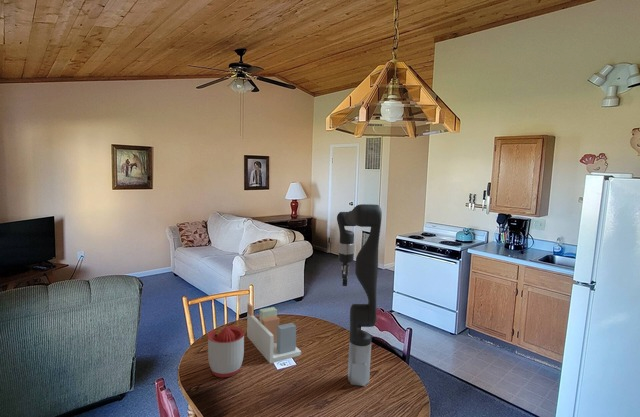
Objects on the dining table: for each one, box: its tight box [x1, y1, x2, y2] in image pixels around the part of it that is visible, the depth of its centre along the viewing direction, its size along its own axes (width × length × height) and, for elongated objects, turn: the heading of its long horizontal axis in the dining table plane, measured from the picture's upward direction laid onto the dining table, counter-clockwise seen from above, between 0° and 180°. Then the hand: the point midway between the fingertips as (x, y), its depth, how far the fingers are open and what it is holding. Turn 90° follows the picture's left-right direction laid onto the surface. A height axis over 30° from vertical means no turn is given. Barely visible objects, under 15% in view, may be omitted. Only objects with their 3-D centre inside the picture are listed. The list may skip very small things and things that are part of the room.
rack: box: [246, 302, 302, 364], centre depth 186 cm, size 16×30×18 cm, turn 31°
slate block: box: [277, 322, 297, 354], centre depth 178 cm, size 8×4×12 cm, turn 121°
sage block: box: [258, 306, 278, 322], centre depth 197 cm, size 8×4×12 cm, turn 121°
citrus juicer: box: [207, 325, 246, 379], centre depth 163 cm, size 16×17×20 cm
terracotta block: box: [261, 315, 281, 343], centre depth 185 cm, size 8×4×12 cm, turn 121°
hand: (344, 285), depth 187 cm, fingers closed
